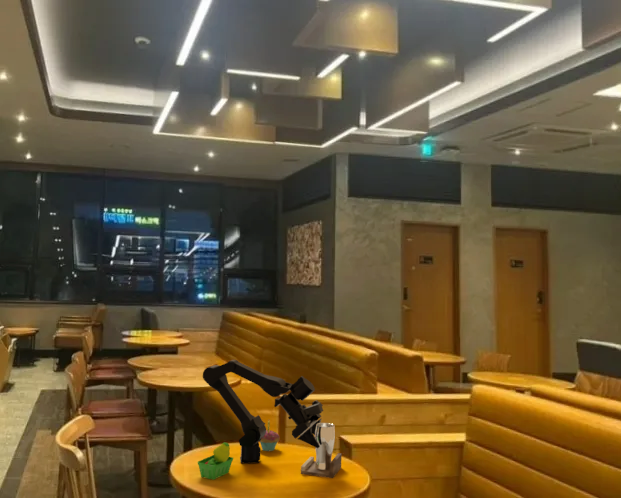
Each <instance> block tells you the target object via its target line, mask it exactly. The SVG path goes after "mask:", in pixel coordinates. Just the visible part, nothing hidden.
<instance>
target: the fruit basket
mask: <svg viewBox="0 0 621 498" xmlns="http://www.w3.org/2000/svg"><path fill="white" fill-rule="evenodd" d="M230 449H231V448H230V444H229V443H228V442H225V441H224V442H223V443H221V444H220V445H219V446H217V447H215V448H214V449H213V451H212V452H213V453H212V454H213V455H211V456H209V457H205V458H203V459H201V460H198V461H197V465H198V469H199V473H200V477H201V478H205V479H209V480H216V479H218V478H220V477H223V476H225V475H226V474H228V473H229V472H230V468H231V466H232V462H233V460H234V457H231V456H230V455H231V454H230Z"/></svg>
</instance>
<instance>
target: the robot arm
mask: <svg viewBox="0 0 621 498" xmlns="http://www.w3.org/2000/svg"><path fill="white" fill-rule="evenodd" d="M229 373H233V374H234V375H236V376H239V377H241V378H243V379H245V380H246V381H249V382H250V383H253V384H255V385H256V386H259V387H260V388H261V389H262V391H263V392H265V393H266V394H267V395H269V397H273V398H275V399H274V404H273V406H274V408H277V407H278V406H281V407H282V409H283V410H284V411H285V412H286V414H287V415H288V420H292V421H293V423H294V424H295V425H296V426H295V428H293V430H292V431H291V435H292V436H293V438H294V439H297V440H300V441H302V442H304V443H306V444H308V445H310V446H312V447H314V448H315V447H316V448H319V447H320V445H319V444H318V442H317V440H316V439H315V430H316V424H317V423H322V418H321V417H322V415H321V414H322V412H324V409H323V405H324V404H322V402H320V401H319V400H317V399H316V400H313V402H311V405H309V406H306V405H305V404H302V403H301V402H299V401H304V400H306V399H307V398H308V397H309V396H310V395H311V394H312V393H313V392H315V390H316V388H315V386H314V384H313V383H312V382H311V381H309V380H308V378H305V377H304V376H303V375H301V376H300V377H299V378H298V379H297V380H296V381H295V382H294V383H290V382H286V380H285V379H284V378H281V377H277V376H273V375H267V374H264V373H262V372H260V371H258V370H256V369H254V368H252V367H250V366H247V365H245V364H243V363H241V362H239V360H238V359H237V360H236V359H231V360H229V361H227V362H226V363H224V364H222V365H221V364H220V365H219V364H214V365H212V366H208V367H206V368H205V369H204V370H203V371H202V380H204V382H205V383H206V384H207V385H209V387H211V388H213V389H214V390H216V391H217V392H218V393H219V395H220V396H221V397H222V399H223V400H224V401H225V403H226V404H227V406H228V407H229V409H230V410H231V411H232V412H233V414H234V415H235V418H237V419H238V421H239V422H240V425H241V430H242V432H243V434H244V435H242V437H240V438H239V439H238V442H239V443H238V444H239V446H240V457H239V459H240V463H241V464H259V463H260V460H261V450H262V448H261V446H260V440H261V438H262V437H264V435H265V434H266V430H267V427H266V422H264V421H263V419H262V418H261V416H260V415H259V414H257V416H255V415H253V414H251V412H250V411H249V409H248V408H247V407H246V406H245V404H244V403H243V402H242V400H241V399H240V398H239V396H238V395H237V393H236V392H235V390H234V389H233V388H232V386H231V385H230V384H229V381H228V376H227V374H229ZM280 395H281V396H280ZM279 396H280V397H279ZM276 397H277V398H276ZM278 397H279V398H278ZM316 448H315V449H316Z"/></svg>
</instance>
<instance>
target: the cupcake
mask: <svg viewBox="0 0 621 498" xmlns="http://www.w3.org/2000/svg"><path fill="white" fill-rule="evenodd" d="M270 424H271V422H270V420H268V421H267V429H266V434H265V435H264V437H262V438H261V440H260V442H259V444H260V445H261V446H260V447H261V450H262V451H265V452H272V451H274V450H276V446H277V443H278V442H280V435H279V434H278V433H277V432H276V431H273V430H270V427H271V425H270Z"/></svg>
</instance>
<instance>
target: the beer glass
mask: <svg viewBox="0 0 621 498" xmlns="http://www.w3.org/2000/svg"><path fill="white" fill-rule="evenodd" d="M335 428H336V427H335V424H333V423H331V422H321V423H317V424H316V430H315V435H314V437H315V439H316V440H317V442H318V444H319V445H320V447H319V448H316V447H314V448H315V453H316V454H315V455H316V458H315V461H316V463H315V468H316V469H317V470H321V471H328V470H330V463H331V461H332V457H333V456H332V455H333V451H334V446H335V439H336V438H335V436H336V434H335V433H336V432H335Z"/></svg>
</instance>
